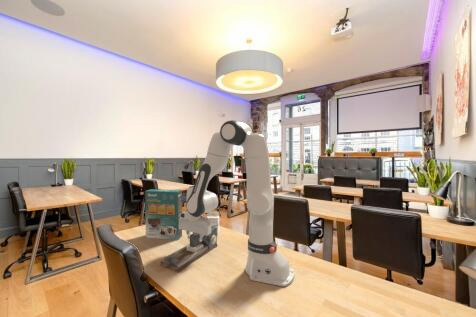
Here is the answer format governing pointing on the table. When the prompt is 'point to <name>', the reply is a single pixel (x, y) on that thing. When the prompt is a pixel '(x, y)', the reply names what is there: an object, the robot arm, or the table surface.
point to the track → (190, 253)
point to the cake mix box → (163, 213)
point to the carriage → (194, 243)
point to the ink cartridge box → (214, 219)
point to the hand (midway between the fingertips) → (194, 239)
